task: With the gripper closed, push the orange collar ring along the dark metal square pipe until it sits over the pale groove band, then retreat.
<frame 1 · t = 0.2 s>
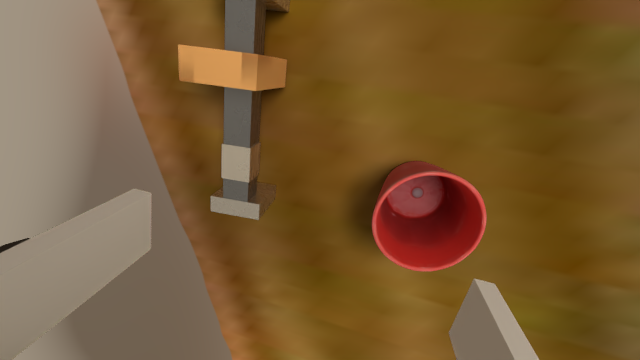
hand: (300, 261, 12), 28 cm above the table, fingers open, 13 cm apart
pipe: (258, 103, 39), on the table
collar: (239, 68, 31), point 6 cm above the table, slide at 0.0 cm
flower pot: (414, 189, 39), on the table
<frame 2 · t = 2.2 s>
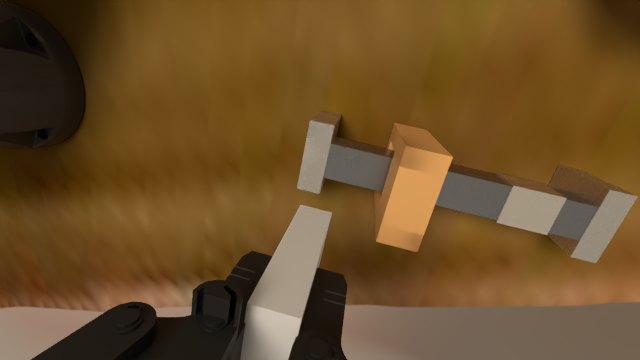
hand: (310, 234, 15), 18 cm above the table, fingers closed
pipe: (437, 168, 31), on the table
collar: (404, 178, 25), point 6 cm above the table, slide at 0.0 cm
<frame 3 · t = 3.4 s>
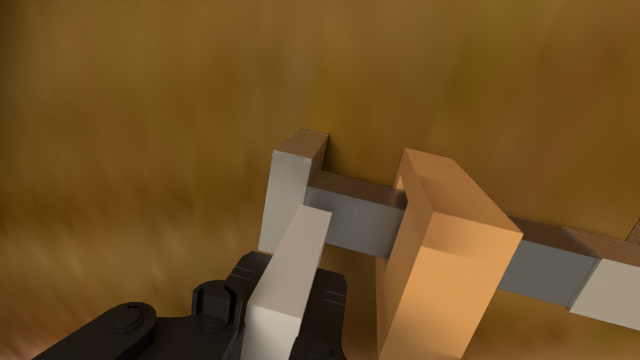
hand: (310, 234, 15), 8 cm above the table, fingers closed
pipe: (465, 209, 22), on the table
collar: (422, 240, 16), point 6 cm above the table, slide at 0.0 cm
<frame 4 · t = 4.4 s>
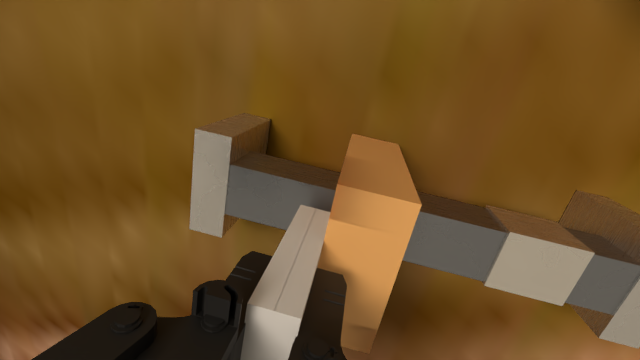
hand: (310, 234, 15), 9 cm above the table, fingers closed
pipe: (404, 192, 22), on the table
collar: (358, 221, 16), point 6 cm above the table, slide at 0.9 cm, touching gripper
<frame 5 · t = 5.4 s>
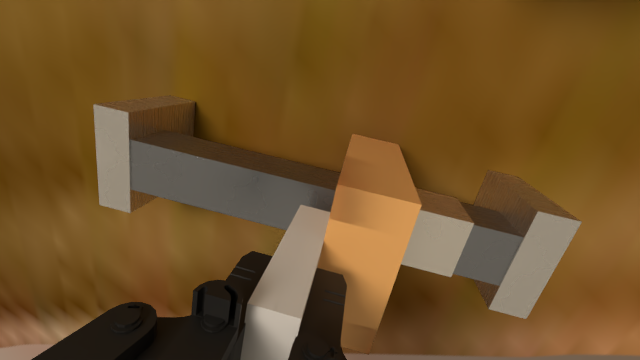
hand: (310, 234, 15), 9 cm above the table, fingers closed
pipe: (327, 174, 23), on the table
collar: (358, 221, 16), point 6 cm above the table, slide at 6.6 cm, touching gripper
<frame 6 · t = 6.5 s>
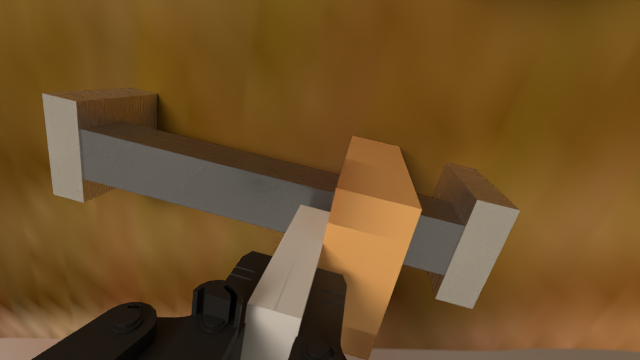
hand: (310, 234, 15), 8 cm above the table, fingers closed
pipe: (289, 166, 23), on the table
collar: (358, 224, 16), point 6 cm above the table, slide at 9.5 cm, touching gripper
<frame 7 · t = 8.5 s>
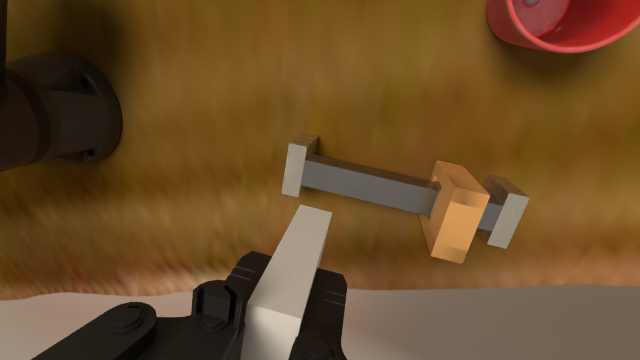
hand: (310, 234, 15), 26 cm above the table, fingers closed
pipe: (393, 176, 39), on the table
collar: (448, 206, 33), point 6 cm above the table, slide at 9.5 cm
flower pot: (526, 2, 31), on the table
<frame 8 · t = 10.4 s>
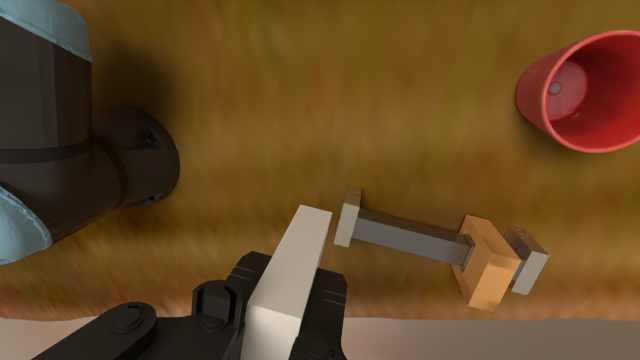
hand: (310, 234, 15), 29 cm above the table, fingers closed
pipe: (426, 225, 45), on the table
collar: (479, 259, 38), point 6 cm above the table, slide at 9.5 cm
flower pot: (549, 89, 37), on the table
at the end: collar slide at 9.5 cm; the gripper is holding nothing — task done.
